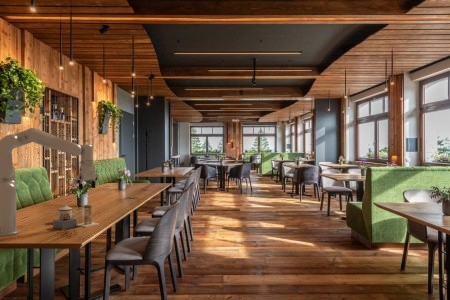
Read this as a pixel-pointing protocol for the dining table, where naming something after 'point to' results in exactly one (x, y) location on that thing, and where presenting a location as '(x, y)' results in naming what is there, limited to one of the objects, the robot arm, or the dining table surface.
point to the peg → (87, 214)
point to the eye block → (64, 223)
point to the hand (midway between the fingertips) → (87, 188)
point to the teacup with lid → (66, 212)
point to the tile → (87, 225)
